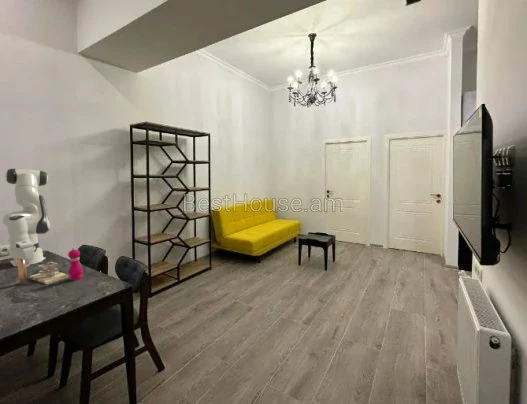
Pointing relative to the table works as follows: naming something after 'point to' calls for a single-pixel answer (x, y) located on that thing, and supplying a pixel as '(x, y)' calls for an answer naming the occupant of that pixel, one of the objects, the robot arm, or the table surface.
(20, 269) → the brown rounded cylinder
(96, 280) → the table surface
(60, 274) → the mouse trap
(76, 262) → the pepper mill
